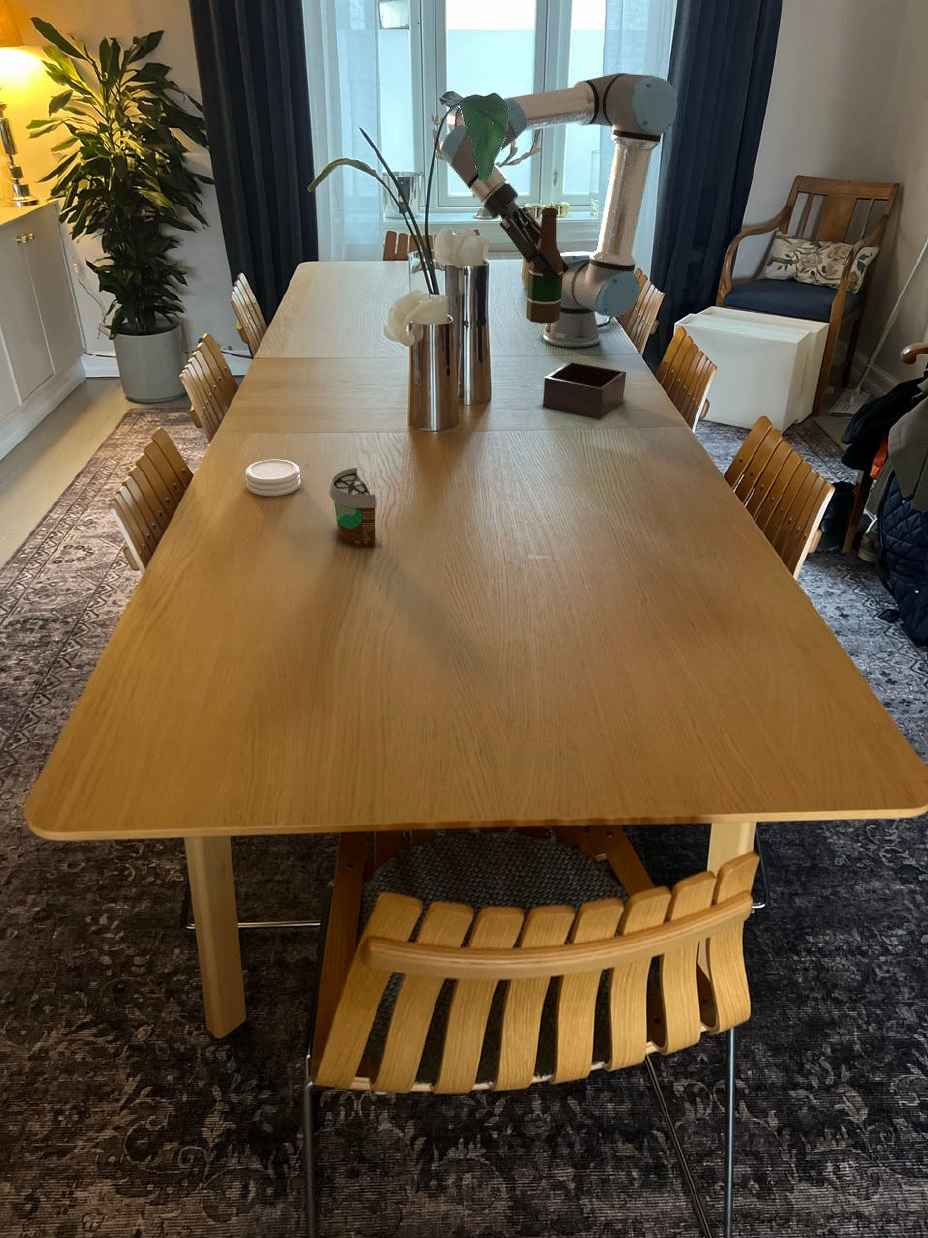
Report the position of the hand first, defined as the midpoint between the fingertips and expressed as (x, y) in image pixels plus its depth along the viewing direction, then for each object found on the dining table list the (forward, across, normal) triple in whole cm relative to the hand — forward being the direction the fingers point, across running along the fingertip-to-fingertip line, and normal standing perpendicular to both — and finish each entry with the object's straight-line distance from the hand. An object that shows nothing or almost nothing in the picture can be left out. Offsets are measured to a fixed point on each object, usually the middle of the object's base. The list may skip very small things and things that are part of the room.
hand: (560, 276), depth 215 cm
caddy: (+25, +7, -12) cm, 29 cm away
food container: (+10, +87, -27) cm, 92 cm away
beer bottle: (+5, 0, -10) cm, 11 cm away
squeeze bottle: (-4, -93, -42) cm, 102 cm away
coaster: (-5, +74, -42) cm, 85 cm away
